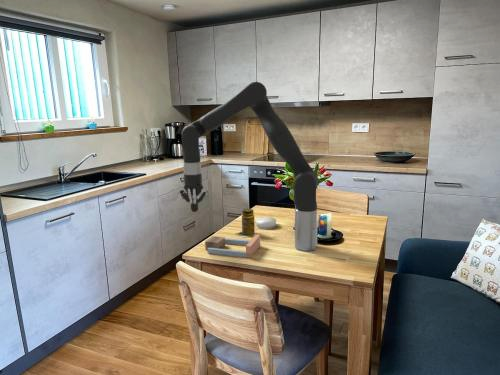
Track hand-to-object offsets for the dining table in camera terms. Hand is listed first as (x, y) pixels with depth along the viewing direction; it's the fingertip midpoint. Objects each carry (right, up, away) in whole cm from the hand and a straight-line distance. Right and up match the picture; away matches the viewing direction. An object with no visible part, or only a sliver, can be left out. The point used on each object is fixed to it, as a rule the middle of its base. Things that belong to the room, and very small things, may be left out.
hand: (194, 211), depth 163 cm
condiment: (+23, -12, +17) cm, 31 cm away
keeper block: (+9, -16, +1) cm, 18 cm away
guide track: (+18, -16, -2) cm, 24 cm away
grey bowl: (+33, -9, +28) cm, 44 cm away
